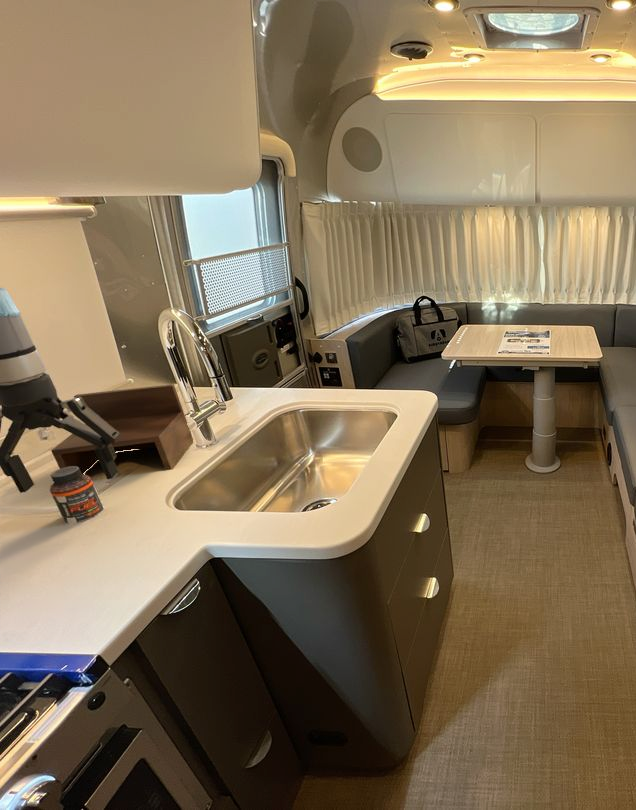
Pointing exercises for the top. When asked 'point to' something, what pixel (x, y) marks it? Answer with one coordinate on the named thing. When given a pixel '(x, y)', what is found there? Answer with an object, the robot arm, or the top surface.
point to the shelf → (133, 425)
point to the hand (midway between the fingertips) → (71, 482)
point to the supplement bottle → (75, 495)
